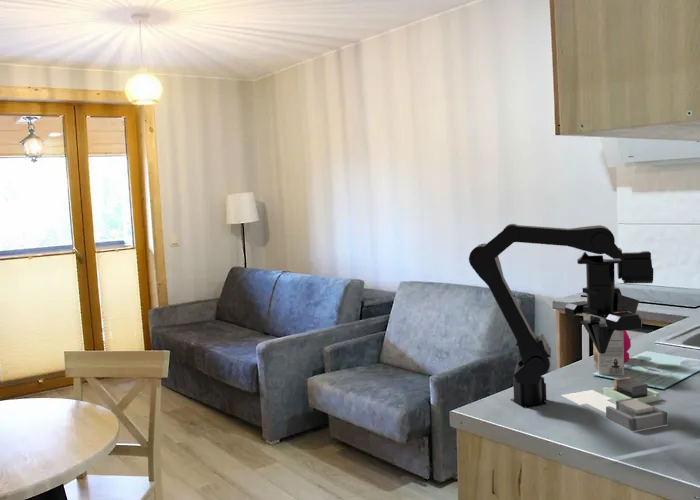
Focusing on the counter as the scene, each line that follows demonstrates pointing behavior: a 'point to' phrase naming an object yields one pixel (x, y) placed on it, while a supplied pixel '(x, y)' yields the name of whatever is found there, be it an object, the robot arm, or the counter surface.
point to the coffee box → (611, 355)
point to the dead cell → (633, 407)
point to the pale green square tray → (617, 396)
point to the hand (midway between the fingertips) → (602, 353)
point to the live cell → (630, 387)
